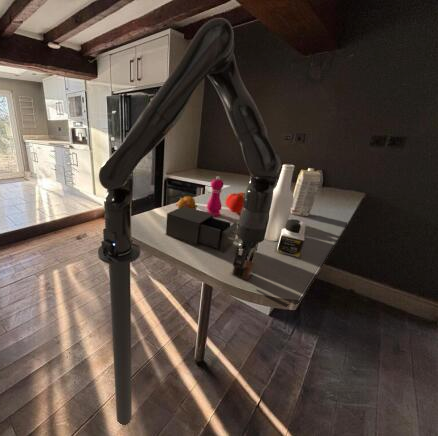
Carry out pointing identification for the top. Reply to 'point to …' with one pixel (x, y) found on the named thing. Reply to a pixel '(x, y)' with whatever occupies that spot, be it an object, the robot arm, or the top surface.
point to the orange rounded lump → (187, 202)
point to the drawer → (218, 233)
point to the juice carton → (305, 192)
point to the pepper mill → (215, 197)
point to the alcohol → (280, 204)
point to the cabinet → (186, 224)
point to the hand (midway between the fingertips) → (243, 270)
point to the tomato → (235, 202)
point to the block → (246, 270)
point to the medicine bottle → (292, 238)
